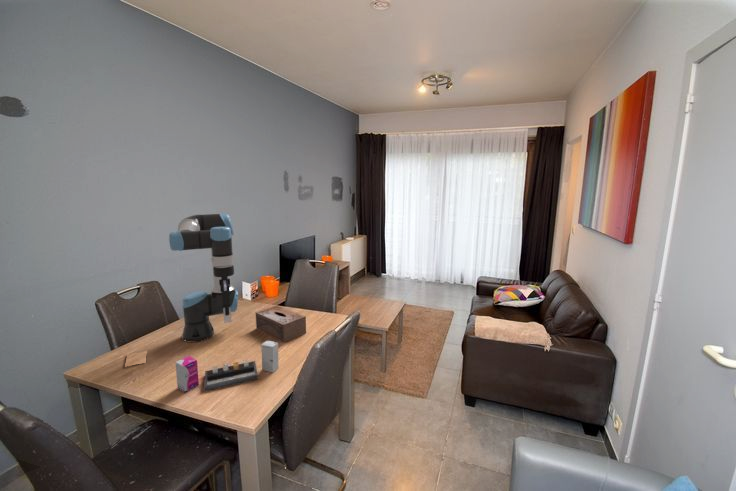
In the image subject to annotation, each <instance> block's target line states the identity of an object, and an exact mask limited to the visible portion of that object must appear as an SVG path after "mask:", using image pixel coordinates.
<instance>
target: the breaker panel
mask: <svg viewBox="0 0 736 491" xmlns="http://www.w3.org/2000/svg"><path fill="white" fill-rule="evenodd" d="M242 362H243V363H239V362H238V361H236V362H233V365H229V363H224V364H222V367H220V368H218V365H215V366H214V365H213V366H212V369H209V370H205V373H204V383H203V384H204V385H203V388H204V392H209V391H213V390H217V389H222V388H226V387H231V386H236V385H239V384H243V383H244V384H245V383H249V382H252V381H256V380H259V375H258V368H257V365H256V361H255V360H254V361H253V360H252V361H249V359H244V360H242Z"/></svg>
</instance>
